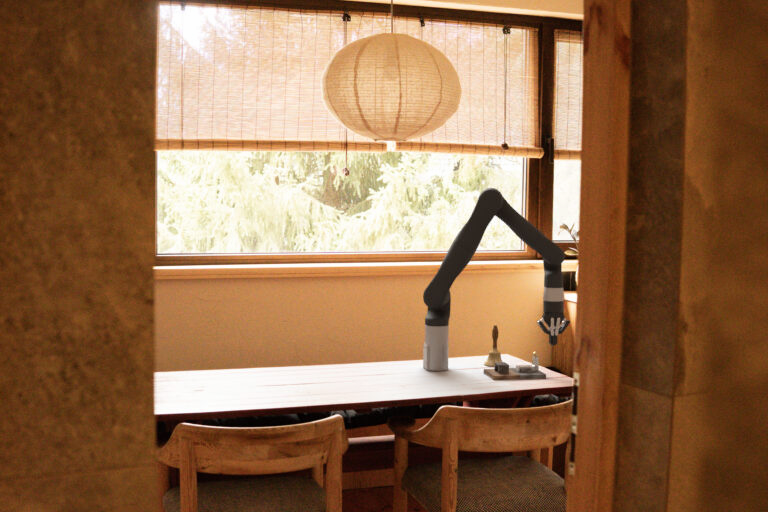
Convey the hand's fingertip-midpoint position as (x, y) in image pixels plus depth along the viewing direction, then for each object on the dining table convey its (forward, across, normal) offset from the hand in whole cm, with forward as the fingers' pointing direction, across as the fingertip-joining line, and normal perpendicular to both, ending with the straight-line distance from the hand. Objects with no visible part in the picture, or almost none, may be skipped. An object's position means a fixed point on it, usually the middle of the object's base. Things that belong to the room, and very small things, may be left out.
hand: (553, 345), depth 265 cm
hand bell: (+11, -16, +20) cm, 28 cm away
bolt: (+9, -10, 0) cm, 14 cm away
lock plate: (+11, -15, 0) cm, 19 cm away
